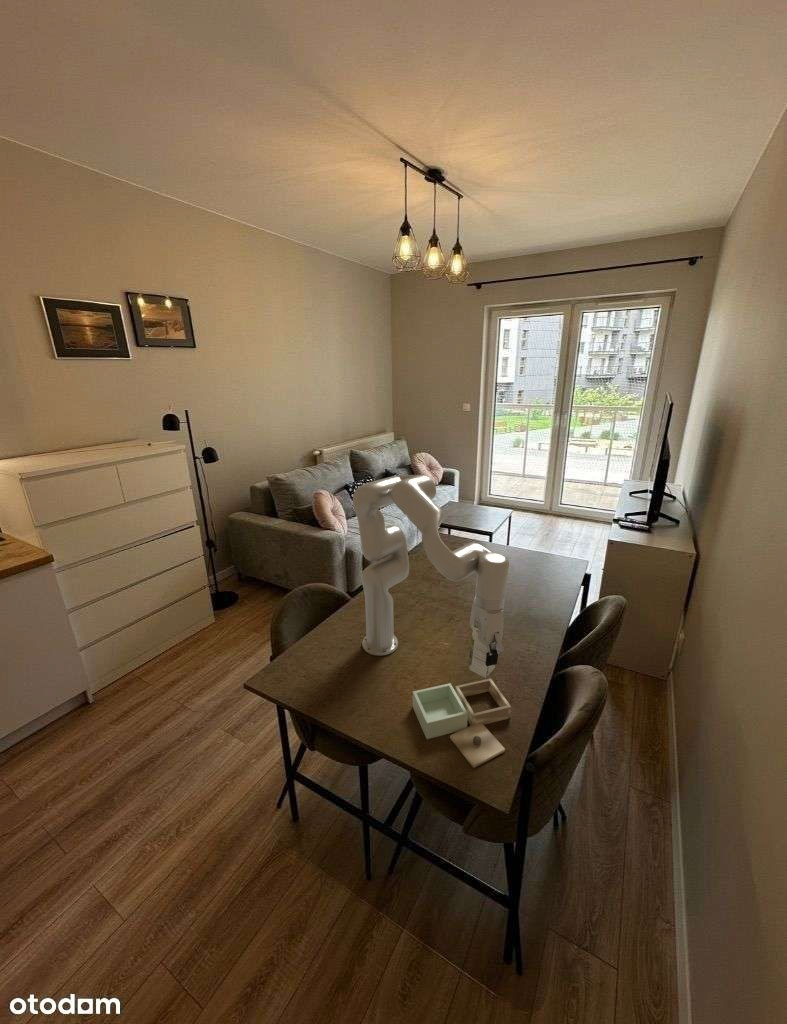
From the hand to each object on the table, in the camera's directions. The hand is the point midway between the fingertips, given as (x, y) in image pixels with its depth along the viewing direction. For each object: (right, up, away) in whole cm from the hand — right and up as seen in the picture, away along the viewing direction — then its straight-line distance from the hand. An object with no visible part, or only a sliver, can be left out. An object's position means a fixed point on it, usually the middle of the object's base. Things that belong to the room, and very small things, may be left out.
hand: (483, 654), depth 115 cm
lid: (-3, -21, -6) cm, 22 cm away
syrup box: (0, -5, +2) cm, 5 cm away
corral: (+1, -17, +6) cm, 18 cm away
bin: (-12, -19, +2) cm, 22 cm away
